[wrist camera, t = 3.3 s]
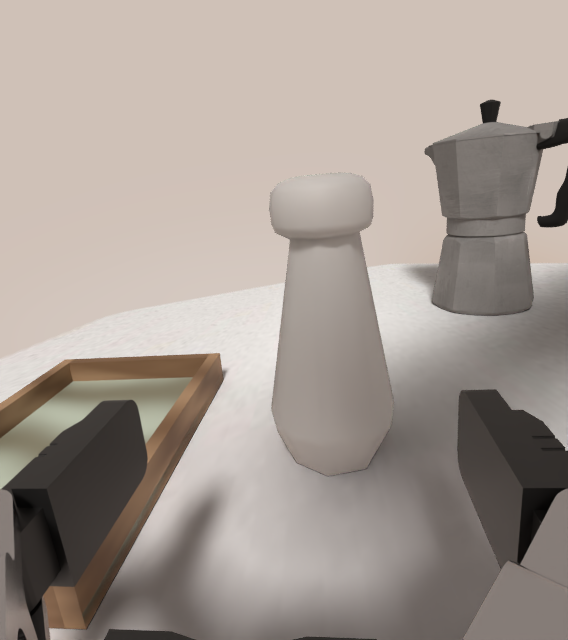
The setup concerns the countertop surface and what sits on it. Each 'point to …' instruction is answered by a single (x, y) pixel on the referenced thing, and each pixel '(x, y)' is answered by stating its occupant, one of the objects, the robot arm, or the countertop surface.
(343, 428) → the salt shaker
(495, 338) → the countertop surface
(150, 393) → the tray
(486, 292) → the coffeepot
